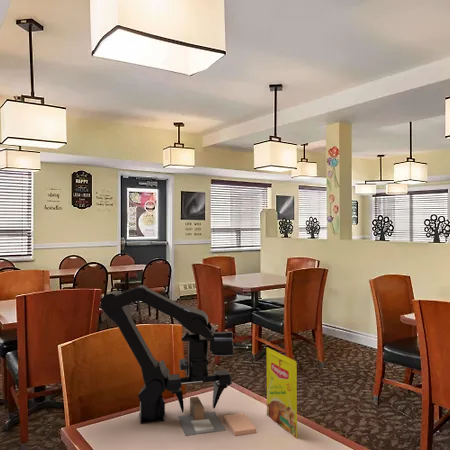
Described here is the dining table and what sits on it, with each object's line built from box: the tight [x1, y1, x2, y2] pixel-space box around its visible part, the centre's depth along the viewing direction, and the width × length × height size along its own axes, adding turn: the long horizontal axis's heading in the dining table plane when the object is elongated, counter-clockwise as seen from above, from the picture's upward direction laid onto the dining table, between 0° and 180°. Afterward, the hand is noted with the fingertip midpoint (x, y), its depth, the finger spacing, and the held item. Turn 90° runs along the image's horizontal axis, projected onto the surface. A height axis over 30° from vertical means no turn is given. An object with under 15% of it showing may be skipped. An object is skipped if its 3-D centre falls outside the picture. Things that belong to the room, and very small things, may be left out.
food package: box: [265, 346, 298, 439], centre depth 118 cm, size 15×1×20 cm, turn 25°
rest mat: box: [178, 411, 227, 437], centre depth 119 cm, size 11×12×1 cm
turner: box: [189, 396, 214, 433], centre depth 121 cm, size 14×5×4 cm, turn 16°
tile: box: [223, 412, 257, 437], centre depth 118 cm, size 6×2×10 cm
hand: (198, 409), depth 123 cm, fingers open, 9 cm apart
